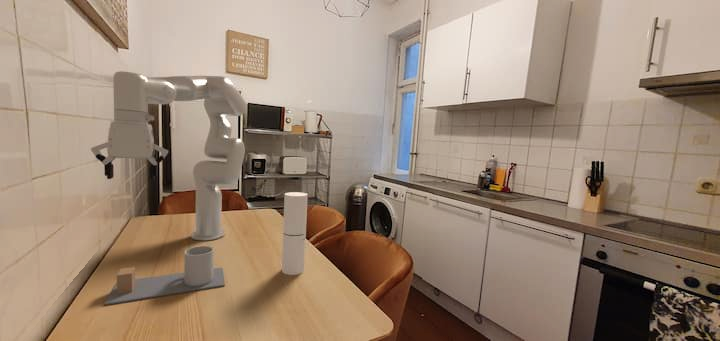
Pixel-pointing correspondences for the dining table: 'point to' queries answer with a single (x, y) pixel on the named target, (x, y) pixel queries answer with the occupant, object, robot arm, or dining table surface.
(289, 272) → the cylindrical container
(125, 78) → the robot arm
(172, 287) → the strip
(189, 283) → the cup
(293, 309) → the dining table surface
